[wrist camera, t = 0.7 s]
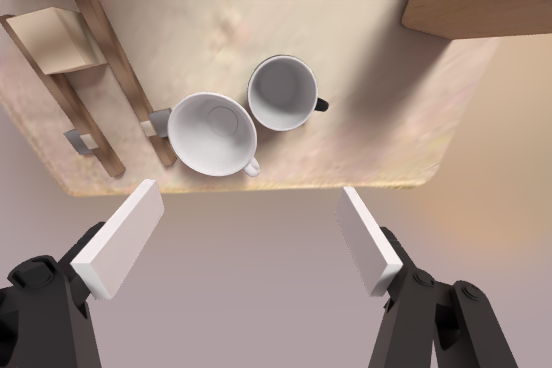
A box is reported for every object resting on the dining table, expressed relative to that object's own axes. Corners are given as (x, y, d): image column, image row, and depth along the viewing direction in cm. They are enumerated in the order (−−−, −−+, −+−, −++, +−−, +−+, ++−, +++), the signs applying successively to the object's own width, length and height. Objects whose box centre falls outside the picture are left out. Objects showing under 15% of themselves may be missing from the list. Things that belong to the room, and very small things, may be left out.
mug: (245, 104, 36) (239, 120, 28) (259, 45, 32) (257, 42, 23) (309, 124, 39) (322, 145, 30) (330, 72, 34) (352, 78, 26)
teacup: (237, 172, 43) (231, 201, 35) (174, 117, 37) (148, 136, 28) (282, 133, 39) (287, 155, 31) (220, 64, 33) (206, 69, 25)
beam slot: (-4, 24, 29) (-28, 22, 27) (118, -7, 28) (105, -13, 26) (104, 173, 42) (94, 180, 39) (191, 155, 41) (187, 161, 38)
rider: (42, 23, 29) (5, 19, 25) (82, 13, 29) (51, 6, 25) (73, 71, 33) (44, 74, 28) (109, 62, 32) (86, 64, 28)
